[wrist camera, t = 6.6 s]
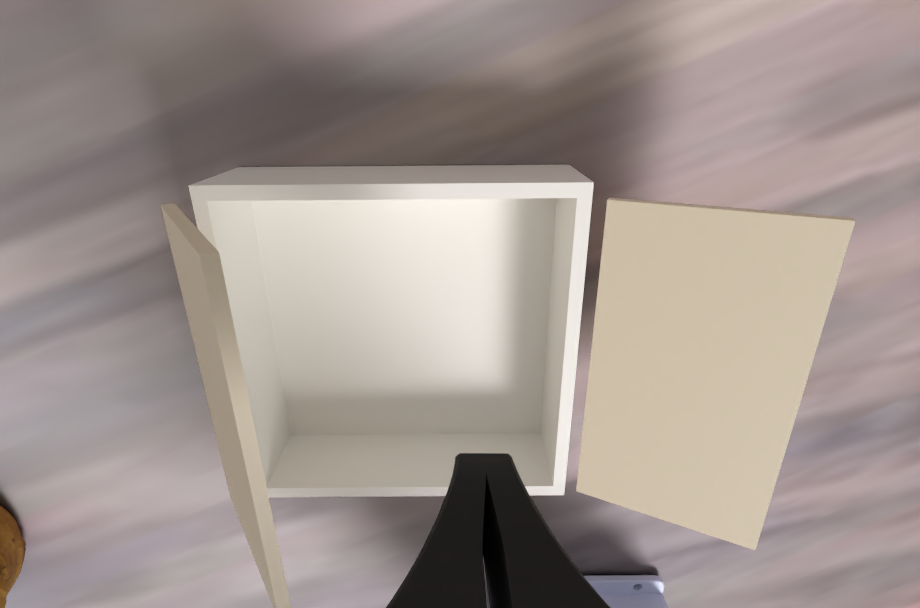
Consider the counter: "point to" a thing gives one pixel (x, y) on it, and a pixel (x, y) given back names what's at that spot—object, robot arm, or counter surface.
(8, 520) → the bread roll
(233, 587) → the counter surface
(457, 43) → the counter surface
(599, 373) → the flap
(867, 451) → the counter surface
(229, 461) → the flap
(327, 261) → the carton
